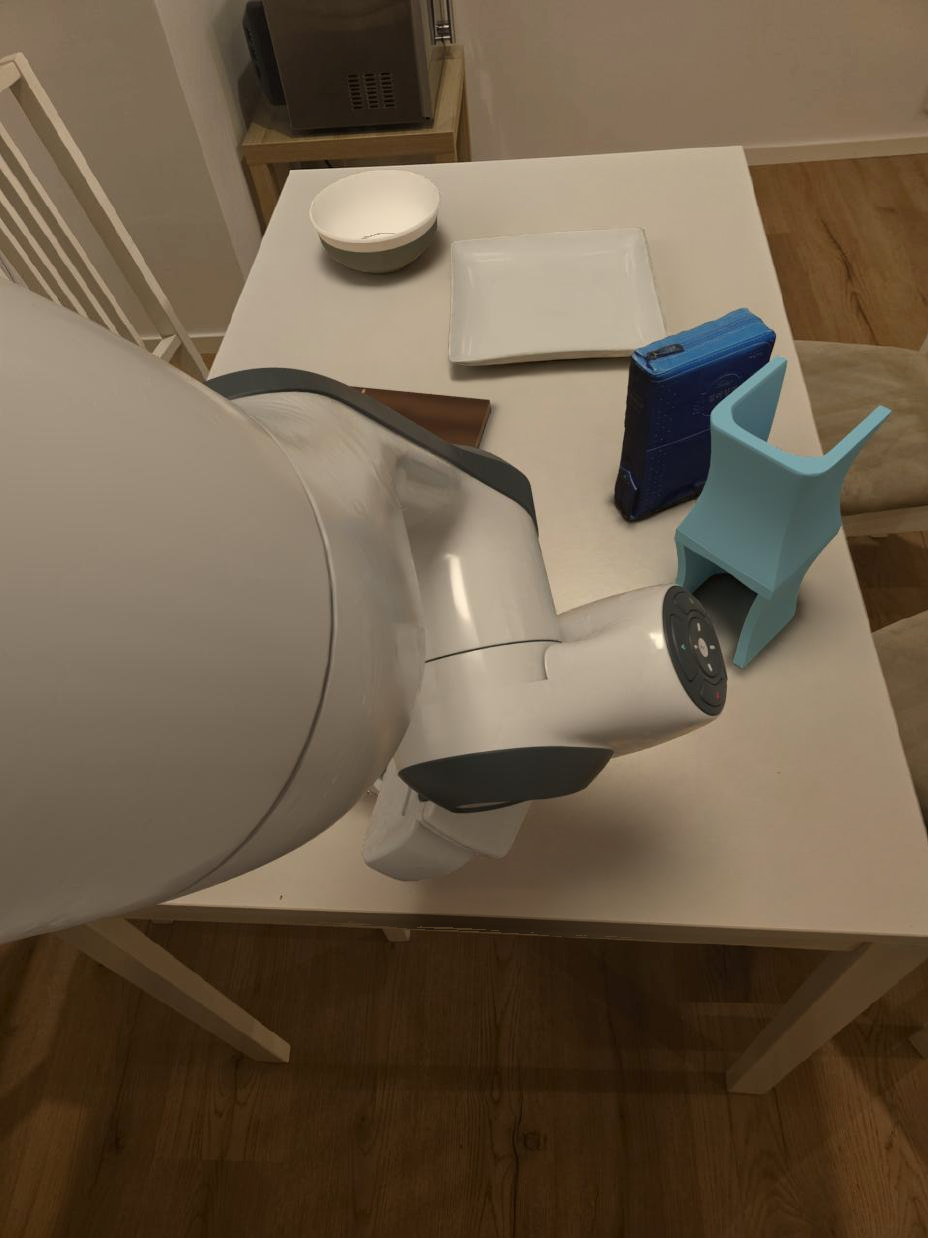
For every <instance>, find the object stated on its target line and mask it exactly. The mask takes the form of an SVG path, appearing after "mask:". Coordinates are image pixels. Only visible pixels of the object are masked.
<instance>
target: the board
mask: <svg viewBox="0 0 928 1238" xmlns="http://www.w3.org/2000/svg"><path fill="white" fill-rule="evenodd" d="M349 386H350V387H352V388H354V389H356V390H358V391H360V392H362V393H364V394H366V395H368V396H370V397H371V398H373V399H375V400H377V401H379V402H380V403H382V404H384V405H385V406H387V407H389V408H391V409H392V410H394V411H396V412H397V413H399V414H401V415H402V416H404V417H406V418H407V419H409V420H411V421H412V422H414V423H416V424H417V425H419V426H421V427H422V428H424V429H426V430H427V431H429V432H431V433H432V434H434V435H436V436H437V437H439V438H441V439H443V440H444V441H446V442H448V443H450V444H456V445H464V446H470V447H475V448H479V446H480V444H481V443H480V442H481V440H482V437H483V434H484V430H485V428H486V425H487V421H488V418H489V415H490V413H491V409H492V408H491V400H490V399H486V398H485V399H484V398H475V397H465V396H456V395H446V394H435V393H427V392H426V393H425V392H414V391H406V390H405V391H404V390H394V389H384V388H375V387H374V388H373V387H364V386H363V387H362V386H353V385H349Z"/></svg>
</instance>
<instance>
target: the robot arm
mask: <svg viewBox="0 0 928 1238" xmlns="http://www.w3.org/2000/svg"><path fill="white" fill-rule="evenodd" d="M350 386H351V385H348V384H347V383H344V382H341V381H339V380H337V379H334V378H332V377H330V376H326V375H324V374H319V373H316V372H313V371H308V370H304V369H298V368H292V367H291V368H290V367H277V366H276V367H256V368H248V369H242V370H237V371H234V372H229V373H226V374H222V375H219V376H215V377H213V378H210V379H207V380H205V381H202V382H200V381H199V380H197V379H196V378H194V377H192V376H191V375H189V374H187V373H186V372H184V371H183V370H181V369H179V368H177V367H176V366H175V365H173V364H172V363H169V362H168V361H167V360H164V359H163V358H161V357H160V356H158V355H156V354H154V353H152V352H151V351H149V350H147V349H145V348H143V347H141V346H140V345H138V344H136V343H134V342H132V341H131V340H129V339H127V338H125V337H123V336H121V335H120V334H118V333H116V332H114V331H112V330H111V329H108V328H107V327H105V326H103V325H101V324H99V323H98V322H96V321H94V320H92V319H90V318H88V317H86V316H84V315H82V314H80V313H78V312H76V311H73V310H72V309H70V308H67V307H65V306H63V305H61V304H59V303H57V302H56V301H53V300H51V299H49V298H47V297H45V296H42V295H40V294H38V293H37V292H35V291H32V290H31V289H28V288H26V287H24V286H21V285H20V284H18V283H15V282H13V281H11V280H10V279H7V278H5V277H3V276H1V275H0V946H2V945H6V944H10V943H13V942H16V941H20V940H23V939H26V938H32V937H35V936H39V935H44V934H49V933H54V932H57V931H62V930H66V929H70V928H73V927H78V926H82V925H86V924H89V923H93V922H97V921H101V920H105V919H109V918H113V917H118V916H121V915H125V914H129V913H131V912H134V911H138V910H142V909H145V908H151V907H154V906H157V905H160V904H164V903H166V902H169V901H173V900H177V899H179V898H183V897H185V896H186V897H187V896H189V895H192V894H196V893H197V892H200V891H203V890H207V889H209V888H212V887H214V886H217V885H220V884H222V883H226V882H228V881H230V880H233V879H235V878H238V877H241V876H243V875H245V874H247V873H250V872H252V871H255V870H256V869H259V868H262V867H264V866H266V865H268V864H270V863H272V862H274V861H276V860H278V859H280V858H282V857H284V856H286V855H289V854H290V853H293V852H294V851H296V850H298V849H299V848H302V847H303V846H304V845H306V844H307V843H309V842H311V841H312V840H315V839H316V838H317V837H319V836H320V835H322V834H323V833H324V832H326V831H327V830H329V829H330V828H331V827H332V826H334V825H335V824H337V822H338V821H340V820H341V819H342V818H343V817H344V816H345V815H346V814H347V813H349V812H350V811H351V810H352V809H353V808H354V807H355V806H356V805H357V804H358V803H359V802H360V801H361V800H362V798H364V796H365V795H366V794H367V793H368V792H369V791H370V792H372V793H374V794H378V795H377V797H376V801H375V803H374V808H373V811H372V814H371V817H370V820H369V823H368V826H367V829H366V832H365V836H364V839H363V841H362V845H361V847H360V854H361V858H362V860H363V862H364V864H365V865H366V866H367V867H369V868H370V869H372V870H374V871H375V872H377V873H379V874H382V875H383V876H386V877H388V878H391V879H393V880H396V881H400V882H415V881H422V880H427V879H432V878H436V877H440V876H444V875H447V874H450V873H453V872H456V871H458V870H460V869H461V868H463V867H464V866H466V865H467V864H468V863H469V862H471V860H472V859H473V858H474V856H475V855H477V856H480V857H483V858H487V859H490V860H499V859H502V858H503V857H505V856H506V855H507V854H508V853H509V851H510V850H511V848H512V846H513V843H514V842H515V839H516V837H517V835H518V832H519V830H520V828H521V825H522V823H523V821H524V819H525V817H526V815H527V813H528V811H529V809H530V807H531V804H533V802H534V801H543V800H549V799H551V800H552V799H558V798H562V797H566V796H570V795H573V794H576V793H579V792H582V791H584V790H586V789H587V788H588V787H589V786H590V785H591V783H593V782H594V781H595V780H596V778H597V777H598V776H599V775H600V773H601V772H602V771H604V769H605V768H606V766H607V765H608V764H609V762H610V761H611V760H613V759H616V758H620V757H624V756H628V755H631V754H634V753H638V752H642V751H644V750H648V749H650V748H653V747H657V746H659V745H663V744H665V743H667V742H670V741H673V740H675V739H677V738H680V737H683V736H684V735H688V734H691V733H692V732H694V731H696V730H698V729H701V728H703V727H705V726H707V725H709V724H710V723H712V722H713V721H715V720H717V718H719V717H720V716H721V714H722V713H723V711H724V708H725V705H726V701H727V692H728V680H729V677H728V672H727V667H726V663H725V659H724V655H723V651H722V648H721V644H720V641H719V637H718V635H717V632H716V629H715V626H714V624H713V622H712V619H711V617H709V614H708V613H707V611H706V610H705V608H704V607H703V605H702V603H701V602H700V601H699V600H698V599H697V598H696V597H695V596H694V595H693V593H692V594H691V593H690V592H689V591H688V590H687V589H685V588H684V587H682V586H680V585H678V584H675V583H673V582H672V583H671V582H670V583H661V584H655V585H649V586H644V587H641V588H637V589H633V590H629V591H624V592H620V593H617V594H613V595H610V596H607V597H604V598H600V599H597V600H594V601H591V602H587V603H584V604H582V605H579V606H576V607H573V608H572V609H568V610H567V611H563V612H562V613H557V609H556V605H555V601H554V597H553V593H552V588H551V584H550V580H549V577H548V573H547V569H546V563H545V560H544V556H543V552H542V548H541V544H540V540H539V539H540V534H539V525H538V519H537V514H536V513H537V512H536V507H535V502H534V495H533V489H532V485H531V482H530V480H529V478H528V477H527V476H526V475H525V473H524V472H522V471H520V469H518V467H515V466H514V465H512V463H510V462H508V461H506V460H505V459H503V458H501V457H500V456H498V455H496V454H494V453H492V452H489V451H487V450H485V449H481V448H479V447H478V448H475V447H470V446H464V445H456V444H450V443H448V442H446V441H444V440H443V439H441V438H439V437H437V436H436V435H434V434H432V433H431V432H429V431H427V430H426V429H424V428H422V427H421V426H419V425H417V424H416V423H414V422H412V421H411V420H409V419H407V418H406V417H404V416H402V415H401V414H399V413H397V412H396V411H394V410H392V409H391V408H389V407H387V406H385V405H384V404H382V403H380V402H379V401H377V400H375V399H373V398H371V397H370V396H368V395H366V394H364V393H362V392H360V391H358V390H356V389H354V388H352V387H350ZM387 765H388V766H387ZM386 767H387V770H386V769H385V768H386Z"/></svg>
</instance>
